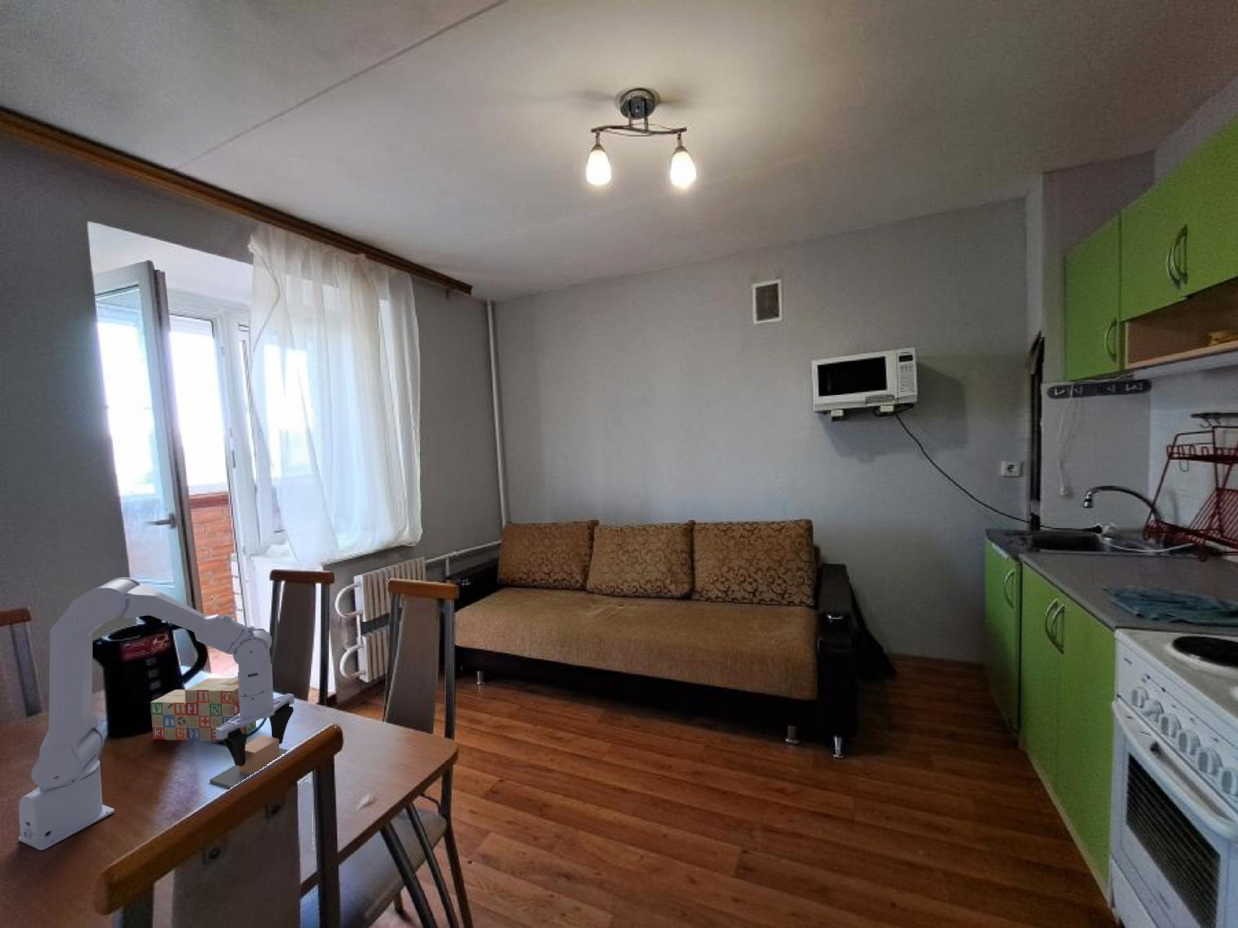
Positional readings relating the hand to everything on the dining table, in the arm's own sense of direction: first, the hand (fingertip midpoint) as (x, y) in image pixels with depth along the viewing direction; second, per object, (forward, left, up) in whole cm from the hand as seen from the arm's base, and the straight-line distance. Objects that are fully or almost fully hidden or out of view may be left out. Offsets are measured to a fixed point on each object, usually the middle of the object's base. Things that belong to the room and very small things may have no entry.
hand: (259, 753), depth 102 cm
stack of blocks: (+6, +28, -4) cm, 29 cm away
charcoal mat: (0, 0, -3) cm, 3 cm away
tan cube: (0, 0, -3) cm, 3 cm away
